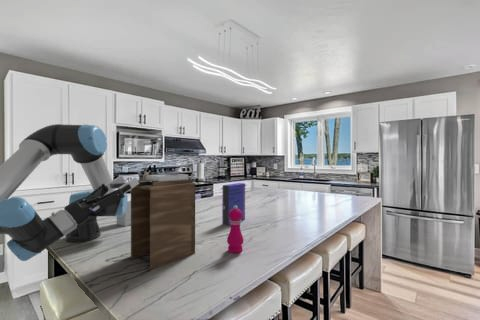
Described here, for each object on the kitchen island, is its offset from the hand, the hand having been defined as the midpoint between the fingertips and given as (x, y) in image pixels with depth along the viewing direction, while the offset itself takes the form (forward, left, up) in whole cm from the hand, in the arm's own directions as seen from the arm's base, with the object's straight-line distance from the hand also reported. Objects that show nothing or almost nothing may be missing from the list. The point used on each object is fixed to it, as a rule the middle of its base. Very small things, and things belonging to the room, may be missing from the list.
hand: (129, 179), depth 93 cm
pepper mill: (+19, +38, -33) cm, 54 cm away
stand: (0, +14, -33) cm, 36 cm away
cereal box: (-14, +72, -33) cm, 80 cm away
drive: (0, +8, -3) cm, 9 cm away
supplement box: (-58, +24, -33) cm, 71 cm away
